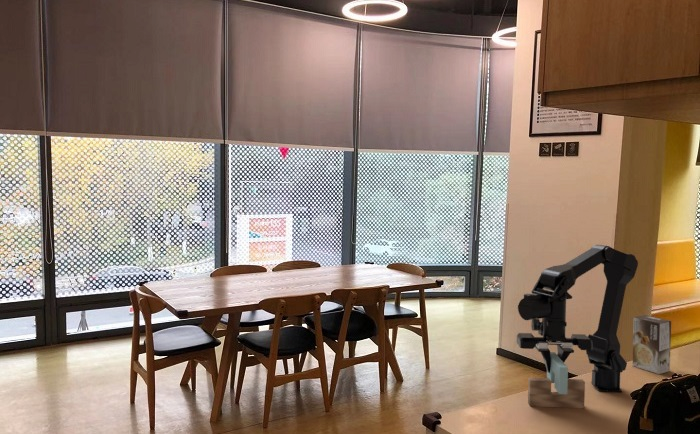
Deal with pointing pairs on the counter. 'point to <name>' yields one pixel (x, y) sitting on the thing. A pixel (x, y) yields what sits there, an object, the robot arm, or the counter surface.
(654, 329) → the coffee box
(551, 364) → the teal slotted plate
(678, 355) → the counter surface
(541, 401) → the walnut slotted plate
